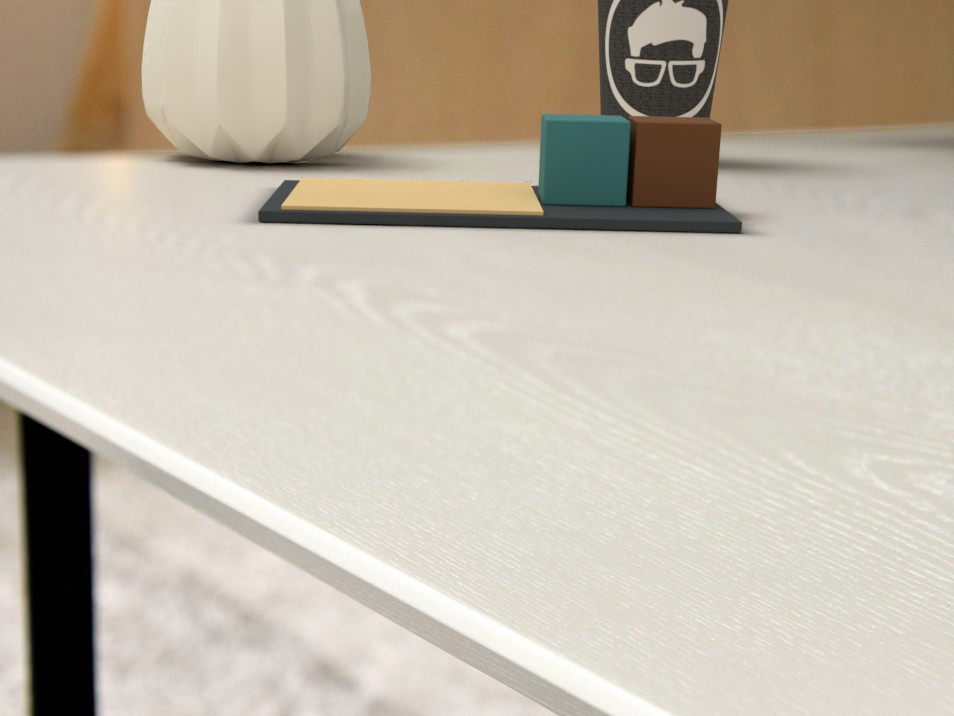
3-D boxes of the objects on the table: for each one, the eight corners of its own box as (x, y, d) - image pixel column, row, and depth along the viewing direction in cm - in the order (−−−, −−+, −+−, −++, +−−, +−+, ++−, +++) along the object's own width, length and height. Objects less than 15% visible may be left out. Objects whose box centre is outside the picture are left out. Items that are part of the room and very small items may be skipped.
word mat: (698, 198, 86) (704, 111, 85) (741, 232, 74) (749, 131, 73) (284, 189, 87) (283, 102, 85) (258, 221, 74) (257, 120, 73)
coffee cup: (755, 164, 106) (776, -83, 101) (669, 173, 99) (688, -91, 94) (636, 152, 112) (650, -81, 107) (547, 159, 105) (559, -89, 101)
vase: (289, 176, 93) (288, -75, 89) (100, 159, 99) (91, -75, 95) (411, 158, 104) (415, -65, 100) (234, 144, 111) (231, -66, 106)
